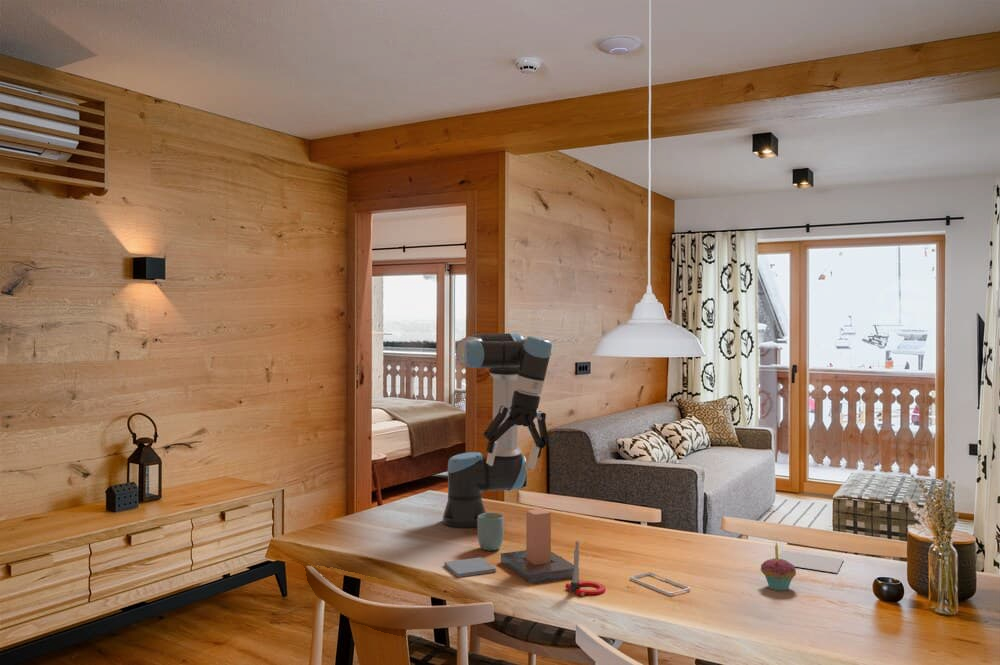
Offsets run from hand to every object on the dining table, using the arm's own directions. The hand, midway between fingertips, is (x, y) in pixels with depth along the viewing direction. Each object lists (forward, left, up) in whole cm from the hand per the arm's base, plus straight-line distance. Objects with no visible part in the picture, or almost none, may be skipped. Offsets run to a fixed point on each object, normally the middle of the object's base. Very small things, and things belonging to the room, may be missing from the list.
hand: (510, 466), depth 211 cm
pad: (+2, -11, -28) cm, 30 cm away
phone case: (+14, +39, -29) cm, 50 cm away
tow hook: (+18, +20, -28) cm, 39 cm away
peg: (+2, +8, -28) cm, 29 cm away
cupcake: (+15, +69, -28) cm, 76 cm away
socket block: (+2, +8, -28) cm, 29 cm away
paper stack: (-8, +90, -28) cm, 95 cm away
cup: (-17, -6, -28) cm, 33 cm away
